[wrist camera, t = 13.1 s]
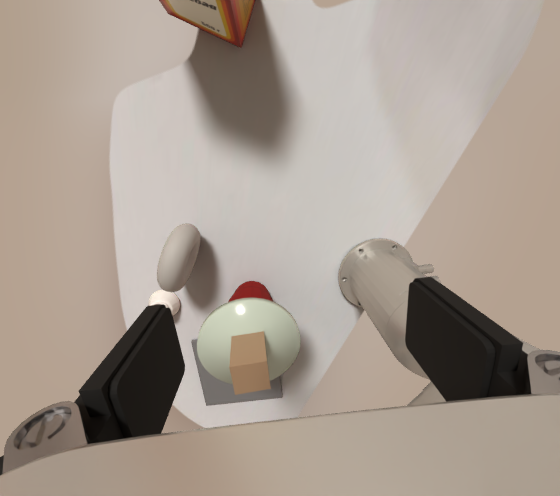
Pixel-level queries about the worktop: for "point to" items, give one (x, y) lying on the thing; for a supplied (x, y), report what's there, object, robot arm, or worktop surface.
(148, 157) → the worktop surface
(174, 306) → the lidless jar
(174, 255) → the donut
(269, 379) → the lid
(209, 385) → the mat
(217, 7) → the baking soda box
